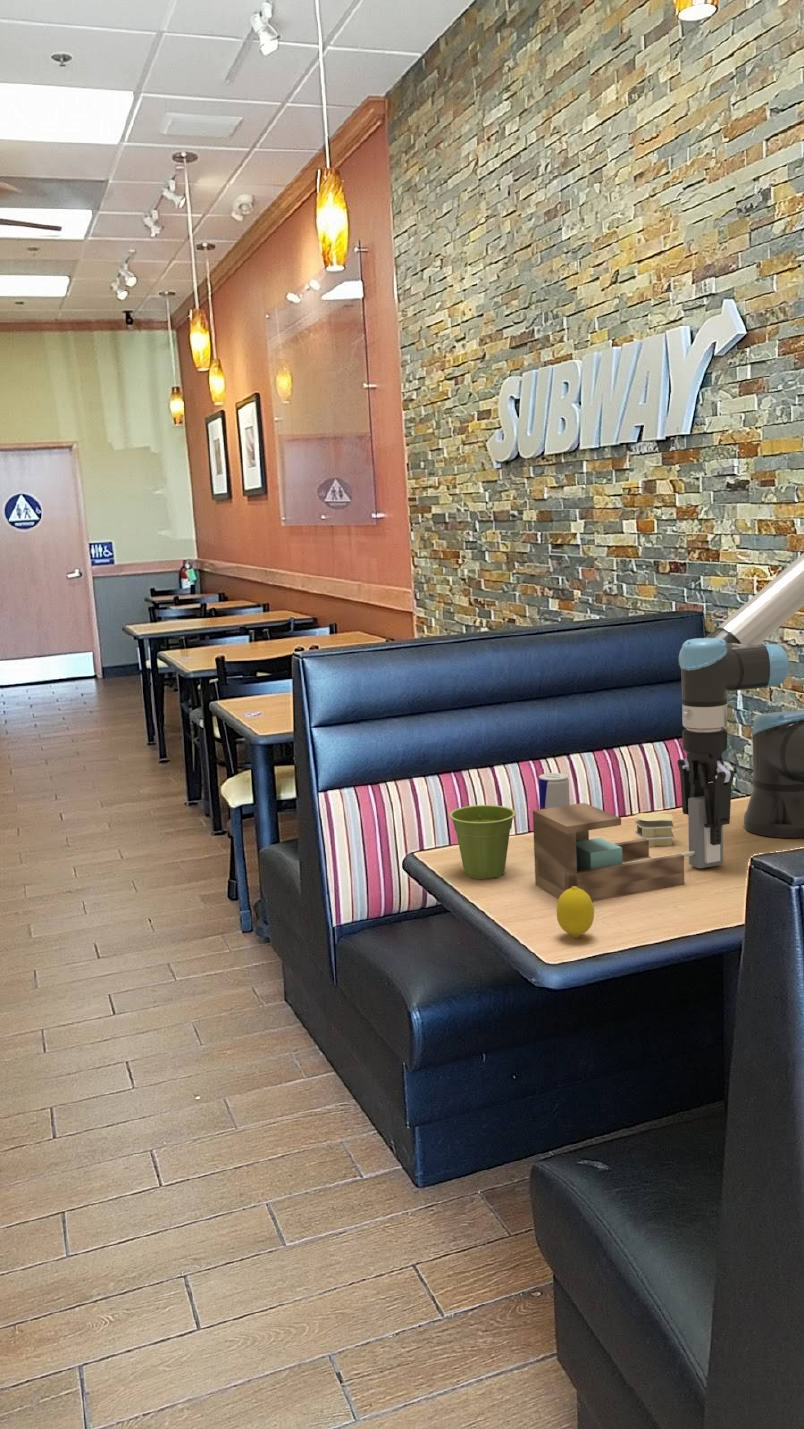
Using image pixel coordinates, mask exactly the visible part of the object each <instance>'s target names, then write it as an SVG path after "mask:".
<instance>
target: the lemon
mask: <svg viewBox="0 0 804 1429" xmlns="http://www.w3.org/2000/svg"><path fill="white" fill-rule="evenodd" d="M557 899H558V898H557ZM556 904H557V905H556V919H557V923H558V925H559V927H560V928H561V929H562V930H563V931H564V932H565V933H567V934H570V935H571V936H572V937H573V938H574V939H575V938H576V939H577V938H579V937H580V936H581V935H582V934H585V933H586V932H588V931H589V930H590V928H591V927H592V925H593V922H594V918H595V909H594V904H593V901H592V900H591V898H590V896H589V895H588V894H587V893H586V892H585V891H584V890H582V889H579V888H577V887H576V886H572V888H570V889H567V890H566V891H564V892H563V893H562V894H561V895H560V897H559V899H558V900H557V903H556Z"/></svg>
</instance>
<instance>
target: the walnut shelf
mask: <svg viewBox="0 0 804 1429" xmlns="http://www.w3.org/2000/svg"><path fill="white" fill-rule="evenodd" d="M532 825H533V827H532V828H533V849H534V852H533V853H534V855H533V856H534V877H535V878H534V879H535V881H534V882H535V886H537V887H538V888H540V889H542V890H543V891H545V892H547V893H548V894H550V895H552V896H553V897H555V898H556V899H559V897H560V895H561V894H562V893H563V892H564V891H566V890H567V889H570V888H572V886H576V887H577V888H579V889H582V890H584V891H585V892H586V893H587V894H588V895H589V896H590V898H591V900H592V902H594V901H599V900H600V901H601V900H606V899H610V898H617V897H622V896H626V895H627V896H628V895H632V894H638V893H643V892H649V891H653V890H660V889H664V888H670V887H675V886H680V885H685V857H684V855H682V854H678V853H674V854H675V855H673V854H669V856H667V855H663V856H664V857H661V856H657V857H658V858H655V857H653V856H652V857H651V856H650V847H649V840H647V839H642V838H640V839H633V840H627V841H622V842H615V843H614V844H615V845H617V846H620V847H622V863H623V864H618V865H612V866H606V867H601V868H595V869H589V870H583V871H578V872H577V856H576V842H578V841H584V840H590V836H589V834H590V833H589V832H590V831H593V830H600V829H605V828H607V829H608V828H612V827H618V826H622V817H620V816H617V815H614V814H612V813H610V812H608V811H605V810H603V809H600V808H598V807H596V806H594V805H591V804H588V803H586V802H582V803H575V804H574V803H573V804H570V805H567V806H560V807H553V808H547V809H540V808H539V809H534V810H532ZM650 858H652V859H650ZM644 859H646V860H644ZM638 860H641V861H638ZM632 861H635V862H632ZM627 862H629V863H627Z"/></svg>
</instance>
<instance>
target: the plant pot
mask: <svg viewBox="0 0 804 1429" xmlns="http://www.w3.org/2000/svg"><path fill="white" fill-rule="evenodd" d="M516 814H517V813H516V810H514V809H512V808H511V807H507V806H503V805H495V804H494V805H493V804H478V805H477V804H476V805H468V806H467V805H466V806H464V807H459V808H456V809H453V810H452V811H450V812H449V814H448V817H449V818H450V819H451V820H452V823H453V828H454V831H455V833H456V838H457V842H458V846H459V847H458V848H459V852H460V857H461V862H462V863H461V864H462V868H463V873H464V874H465V875H466V876H467V877H469V878H471V879H478V880H487V879H488V878H494V879H496V878H499V877H502V876H503V875H504V873H505V871H506V863H507V854H508V847H509V840H510V835H511V834H510V832H511V829H512V826H513V820H514V818H515V817H516Z"/></svg>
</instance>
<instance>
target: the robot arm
mask: <svg viewBox="0 0 804 1429" xmlns="http://www.w3.org/2000/svg"><path fill="white" fill-rule="evenodd" d="M803 607H804V552H803V553H802V554H801V555H799V556H798V557H797V558H796V559H794V560H793V561H792V562H791V563H790V564H788V566H787V567H786V568H784V570H782V571H781V572H779V574H778V575H776V576H775V577H774V578H773V579H772V580H771V581H769V582H768V583H767V584H766V585H765V586H764V587H763V588H761V589H760V590H759V591H758V592H757V593H755V595H753V596H752V597H751V598H750V599H749V600H747V601H746V602H745V603H744V604H743V605H741V607H739V608H738V609H737V610H736V611H734V613H732V614H731V615H730V616H729V617H728V618H727V619H726V620H725V621H723V622H722V623H721V624H720V625H719V626H717V628H715V629H714V630H713V631H712V632H710V633H709V634H708V635H706V637H703V638H702V637H700V638H692V639H691V638H690V639H687V640H686V641H684V642H683V643H682V645H681V648H680V651H679V655H678V665H679V667H680V671H681V673H680V674H681V705H682V707H681V708H682V709H681V710H682V715H681V716H682V718H681V719H682V726H683V728H684V729H683V730H682V731H681V732H682V733H681V734H682V737H681V738H682V740H681V741H682V749H683V751H685V752H686V753H687V755H686V758H682V759H681V758H680V759H678V760H677V761H676V762H677V767H678V771H679V778H680V779H679V780H680V792H681V809H682V813H683V815H687V816H688V798H693V797H699V796H705V805H706V815H707V824H704V845H705V862H706V863H711V862H717V861H720V844H721V826H722V825H723V826H725V825H729V824H731V805H732V804H731V802H732V785H733V781H734V778H735V771H734V770H732V769H729V770H728V769H727V768H726V767H725V766H724V764H725V763H724V760H723V759H724V758H723V753H724V752H725V751H726V750H727V749H728V730H727V729H726V726H728V692H735V691H743V690H754V689H768V688H771V687H777V686H780V685H781V684H783V683H784V682H786V679H787V677H788V675H789V672H790V666H789V665H790V661H789V656H788V654H787V652H786V651H785V649H784V648H783V647H782V646H781V645H779V644H777V643H776V644H774V643H771V644H770V643H769V644H766V643H763V642H764V641H765V640H766V639H767V638H769V636H770V635H772V634H773V633H774V632H776V630H778V629H779V628H780V627H781V626H782V625H783V624H785V623H786V622H787V621H788V620H789V619H790V618H791V617H793V616H794V615H795V614H796V613H797V612H798V611H799V610H800V609H802V608H803ZM752 726H753V727H752V732H751V737H752V767H753V768H752V777H753V778H752V780H753V781H752V786H753V787H752V791H751V794H750V798H749V801H748V804H747V808H746V811H745V812H744V816H743V827H744V829H745V830H746V831H748V832H750V833H753V834H756V835H759V836H766V837H771V838H785V839H786V838H787V839H788V838H789V839H792V838H793V839H795V838H796V839H798V838H804V710H788V711H785V710H784V711H777V712H775V711H774V712H767V713H762V714H759V715H757V716H756V717H755V718H754V720H753V725H752ZM713 819H714V820H713Z"/></svg>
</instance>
